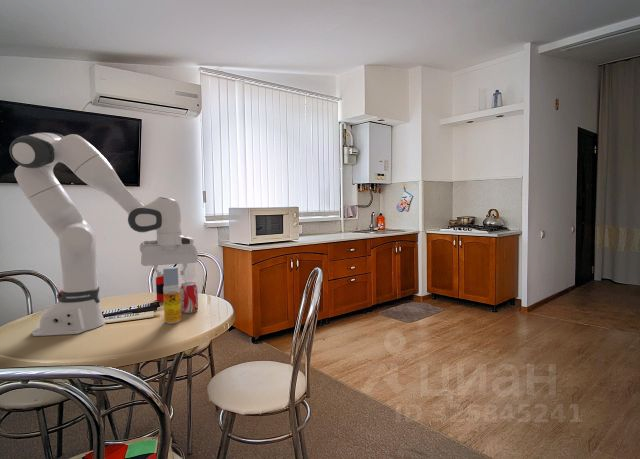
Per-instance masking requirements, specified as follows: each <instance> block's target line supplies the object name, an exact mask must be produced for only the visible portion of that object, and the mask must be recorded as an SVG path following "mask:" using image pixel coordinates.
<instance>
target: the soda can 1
mask: <svg viewBox="0 0 640 459" xmlns="http://www.w3.org/2000/svg"><path fill="white" fill-rule="evenodd" d="M161 274H162V276H161V277H157V276H156V278H155V292H156V301H157V302H163V303H164V296H163V287H164V276H163V273H161Z"/></svg>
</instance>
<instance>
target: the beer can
mask: <svg viewBox="0 0 640 459" xmlns="http://www.w3.org/2000/svg"><path fill="white" fill-rule="evenodd" d="M180 288H181V285H180V282H178V285H166V286H164V287H163V296H164V302H163V309H164V310H163V312H164V313H163V314H164V315H163V316H164V317H163V318H164V322H165V323H166V324H168V325H173V324H178V323H180V322H181V321H182V311H181V296H180Z"/></svg>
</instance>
